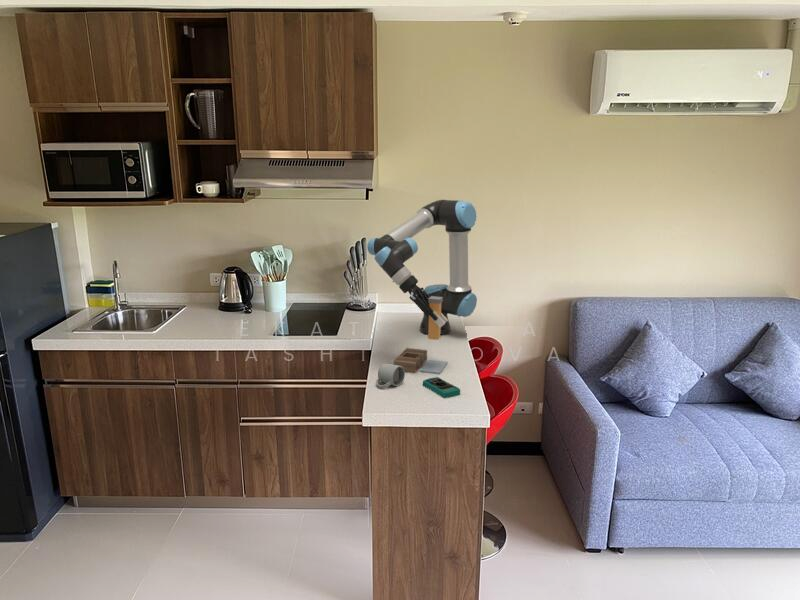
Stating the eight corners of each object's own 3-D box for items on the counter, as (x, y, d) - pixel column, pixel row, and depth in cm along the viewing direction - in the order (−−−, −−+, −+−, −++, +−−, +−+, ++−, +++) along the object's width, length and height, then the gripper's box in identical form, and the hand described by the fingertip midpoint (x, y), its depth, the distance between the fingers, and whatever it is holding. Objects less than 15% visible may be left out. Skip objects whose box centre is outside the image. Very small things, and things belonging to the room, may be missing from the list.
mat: (429, 360, 253) (429, 359, 253) (447, 363, 250) (447, 361, 250) (420, 371, 240) (420, 370, 240) (439, 374, 238) (439, 372, 237)
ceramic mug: (388, 378, 233) (388, 359, 231) (405, 383, 228) (405, 363, 226) (370, 386, 224) (370, 367, 223) (388, 391, 220) (388, 372, 218)
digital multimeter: (437, 382, 230) (437, 375, 229) (461, 395, 218) (461, 387, 217) (421, 386, 226) (421, 379, 225) (444, 399, 214) (444, 392, 213)
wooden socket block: (406, 356, 258) (406, 347, 257) (426, 359, 255) (427, 350, 254) (393, 370, 241) (393, 361, 240) (415, 373, 238) (415, 363, 237)
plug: (430, 335, 245) (431, 296, 241) (441, 336, 243) (442, 297, 240) (427, 338, 240) (428, 298, 237) (438, 340, 239) (440, 299, 235)
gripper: (405, 282, 250) (442, 324, 249) (392, 290, 234) (432, 335, 233) (417, 270, 247) (455, 313, 246) (405, 278, 231) (445, 323, 230)
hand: (444, 323), depth 239 cm, fingers closed on plug, 4 cm apart
